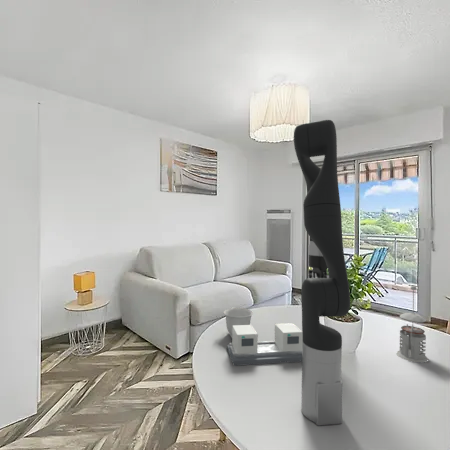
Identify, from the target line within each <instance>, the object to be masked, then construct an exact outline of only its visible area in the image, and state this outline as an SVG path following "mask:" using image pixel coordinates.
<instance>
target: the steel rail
mask: <svg viewBox="0 0 450 450" xmlns="http://www.w3.org/2000/svg"><path fill="white" fill-rule="evenodd" d="M228 345H229V347H230V349H231V352H232V354H233V357H234V358H245V357H262V356H280V355H298V354H302V351H281V350H280V349H279V348H278V346H277V345H276V344H275V340H267V341H266V340H265V341H258V347H257V353H246V354H237V353H236V352H235V350H234V348H233V344H232V342H229V344H228Z"/></svg>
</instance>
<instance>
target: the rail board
mask: <svg viewBox="0 0 450 450" xmlns="http://www.w3.org/2000/svg"><path fill="white" fill-rule="evenodd" d="M226 347H227V348H226V349H227V352H228V355H229V357H230V360H231V363H232V366H244V365H245V366H247V365H262V364H263V365H264V364H281V363H283V364H284V363H295V362H296V363H297V362H302V354H298V355H280V356H262V357H245V358H234V357H233V354H232V352H231V349H230V347H229V344H227V345H226Z"/></svg>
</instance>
